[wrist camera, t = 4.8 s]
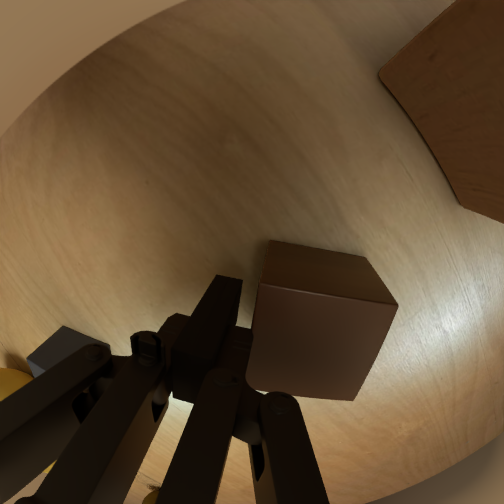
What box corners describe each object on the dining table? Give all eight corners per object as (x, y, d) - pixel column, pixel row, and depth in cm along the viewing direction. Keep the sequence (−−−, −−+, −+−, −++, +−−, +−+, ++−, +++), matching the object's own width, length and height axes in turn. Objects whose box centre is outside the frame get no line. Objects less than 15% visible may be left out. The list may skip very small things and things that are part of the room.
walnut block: (269, 239, 16) (259, 282, 11) (366, 257, 16) (399, 305, 10) (254, 324, 18) (240, 387, 13) (340, 337, 18) (353, 401, 12)
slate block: (63, 325, 22) (25, 358, 16) (109, 344, 21) (73, 386, 16) (75, 368, 24) (46, 401, 18) (119, 388, 23) (91, 428, 18)
